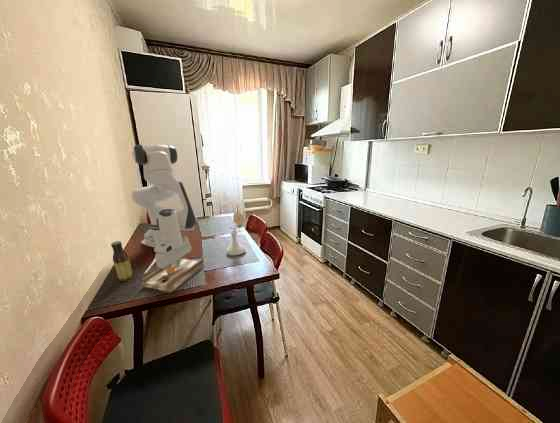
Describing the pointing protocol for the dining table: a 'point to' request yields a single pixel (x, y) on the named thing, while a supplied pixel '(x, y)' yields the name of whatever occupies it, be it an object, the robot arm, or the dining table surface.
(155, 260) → the fork
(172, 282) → the beige tray
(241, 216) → the flower in vase
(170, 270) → the ball
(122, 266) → the sauce bottle
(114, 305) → the dining table surface
